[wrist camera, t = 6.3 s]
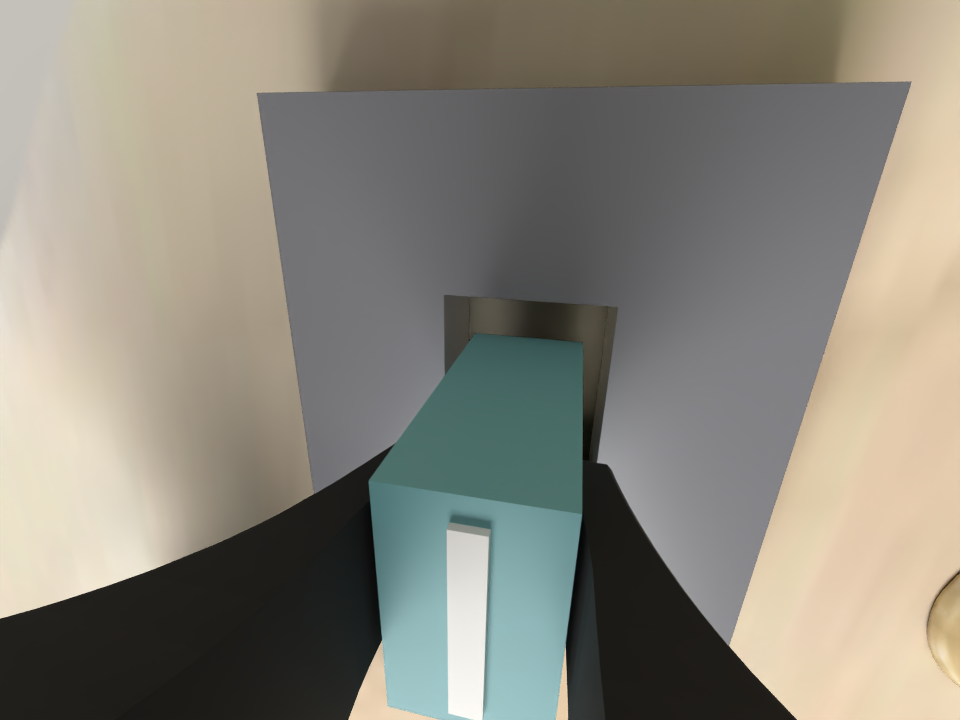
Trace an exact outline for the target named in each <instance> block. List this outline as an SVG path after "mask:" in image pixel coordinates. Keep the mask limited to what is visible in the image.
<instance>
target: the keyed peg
mask: <svg viewBox="0 0 960 720" xmlns="http://www.w3.org/2000/svg"><path fill="white" fill-rule="evenodd" d="M582 459H583V342H573V341H562V340H550V339H539V338H527V337H515V336H504V335H492V334H481V333H475V334H474V336H473V337H472V339H471V340H470V341H469V343H468V344H467V346H466V347H465V348H464V350H463V351H462V352H461V354H460V355H459V357H458V358H457V359H456V361H455V362H454V363H453V365H452V366H451V368H450V369H449V370H448V372H447V373H446V375H445V376H444V377H443V379H442V380H441V381H440V383H439V384H438V386H437V387H436V388H435V390H434V391H433V392H432V394H431V395H430V397H429V398H428V399H427V401H426V402H425V404H424V405H423V406H422V408H421V409H420V410H419V412H418V413H417V415H416V416H415V417H414V419H413V420H412V421H411V423H410V424H409V426H408V427H407V428H406V430H405V431H404V433H403V434H402V435H401V437H400V438H399V439H398V441H397V442H396V444H395V445H394V446H393V448H392V449H391V450H390V452H389V453H388V455H387V456H386V457H385V459H384V460H383V462H382V463H381V464H380V466H379V467H378V468H377V470H376V471H375V473H374V474H373V475H372V477H371V478H370V479H369V492H370V504H371V515H372V527H373V539H374V550H375V562H376V574H377V585H378V597H379V609H380V620H381V632H382V644H383V655H384V667H385V679H386V690H387V702H388V706H389V707H393V708H396V709H400V710H404V711H408V712H412V713H416V714H420V715H424V716H428V717H432V718H436V719H440V720H556V713H557V706H558V698H559V690H560V682H561V675H562V667H563V659H564V651H565V644H566V636H567V628H568V621H569V613H570V605H571V597H572V590H573V582H574V574H575V566H576V559H577V551H578V543H579V535H580V528H581V520H582Z"/></svg>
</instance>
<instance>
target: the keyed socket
mask: <svg viewBox="0 0 960 720" xmlns="http://www.w3.org/2000/svg"><path fill="white" fill-rule="evenodd" d="M910 85H911V82H860V83H802V84H745V85H687V86H629V87H572V88H514V89H457V90H399V91H342V92H284V93H257V97H258V104H259V111H260V118H261V125H262V132H263V139H264V146H265V153H266V160H267V167H268V174H269V181H270V188H271V195H272V202H273V209H274V216H275V223H276V230H277V237H278V244H279V251H280V258H281V265H282V272H283V279H284V286H285V293H286V300H287V307H288V314H289V321H290V328H291V335H292V342H293V349H294V356H295V363H296V370H297V377H298V384H299V391H300V398H301V405H302V412H303V419H304V426H305V433H306V440H307V447H308V454H309V461H310V468H311V475H312V482H313V489H314V494H315V493H317V492H319V491H320V490H322V489H324V488H326V487H327V486H329V485H331V484H332V483H334V482H336V481H337V480H339V479H340V478H342V477H344V476H345V475H347V474H348V473H350V472H351V471H353V470H355V469H356V468H358V467H359V466H361V465H363V464H364V463H366V462H367V461H369V460H370V459H372V458H373V457H375V456H376V455H378V454H379V453H381V452H383V451H384V450H386V449H387V448H389V447H390V446H392V445H393V444H395V443H396V442H397V441H398V439H399V438H400V437H401V435H402V434H403V433H404V431H405V430H406V428H407V427H408V426H409V424H410V423H411V421H412V420H413V419H414V417H415V416H416V415H417V413H418V412H419V410H420V409H421V408H422V406H423V405H424V404H425V402H426V401H427V399H428V398H429V397H430V395H431V394H432V392H433V391H434V390H435V388H436V387H437V386H438V384H439V383H440V381H441V380H442V379H443V377H444V376H445V375H446V373H447V372H448V370H449V369H450V368H451V366H452V365H453V363H454V362H455V361H456V359H457V358H458V357H459V355H460V354H461V352H462V351H463V350H464V348H465V347H466V346H467V344H468V343H469V297H483V298H497V299H512V300H526V301H540V302H554V303H568V304H582V305H596V306H608V314H607V322H606V330H605V337H604V345H603V353H602V361H601V368H600V376H599V384H598V392H597V399H596V407H595V415H594V423H593V431H592V438H591V446H590V454H589V461H587V460H582V461H587V462H594V463H601V464H607V465H608V466H609V467H610V469H611V470H612V472H613V474H614V476H615V479H616V481H617V483H618V485H619V487H620V489H621V491H622V493H623V495H624V497H625V498H626V500H627V502H628V504H629V506H630V508H631V509H632V511H633V513H634V515H635V516H636V518H637V520H638V522H639V523H640V525H641V526H642V528H643V530H644V531H645V533H646V534H647V536H648V538H649V539H650V541H651V542H652V544H653V546H654V547H655V549H656V550H657V552H658V553H659V555H660V556H661V558H662V559H663V561H664V562H665V564H666V565H667V567H668V568H669V569H670V571H671V572H672V574H673V575H674V577H675V578H676V579H677V581H678V582H679V584H680V585H681V586H682V588H683V589H684V590H685V592H686V593H687V594H688V596H689V597H690V598H691V600H692V601H693V602H694V604H695V605H696V606H697V608H698V609H699V610H700V611H701V613H702V614H703V615H704V617H705V618H706V619H707V620H708V621H709V623H710V624H711V625H712V626H713V628H714V629H715V630H716V631H717V632H718V634H719V635H720V636H721V637H722V639H723V640H724V641H725V642H726V643H727V645H728V646H729V644H730V641H731V638H732V635H733V632H734V629H735V626H736V623H737V620H738V617H739V613H740V610H741V607H742V604H743V601H744V598H745V595H746V592H747V589H748V586H749V583H750V579H751V576H752V573H753V570H754V567H755V564H756V561H757V558H758V555H759V552H760V549H761V545H762V542H763V539H764V536H765V533H766V530H767V527H768V524H769V521H770V518H771V515H772V512H773V508H774V505H775V502H776V499H777V496H778V493H779V490H780V487H781V484H782V481H783V478H784V474H785V471H786V468H787V465H788V462H789V459H790V456H791V453H792V450H793V447H794V444H795V440H796V437H797V434H798V431H799V428H800V425H801V422H802V419H803V416H804V413H805V410H806V406H807V403H808V400H809V397H810V394H811V391H812V388H813V385H814V382H815V379H816V376H817V372H818V369H819V366H820V363H821V360H822V357H823V354H824V351H825V348H826V345H827V342H828V338H829V335H830V332H831V329H832V326H833V323H834V320H835V317H836V314H837V311H838V308H839V304H840V301H841V298H842V295H843V292H844V289H845V286H846V283H847V280H848V277H849V274H850V270H851V267H852V264H853V261H854V258H855V255H856V252H857V249H858V246H859V243H860V240H861V237H862V233H863V230H864V227H865V224H866V221H867V218H868V215H869V212H870V209H871V206H872V203H873V199H874V196H875V193H876V190H877V187H878V184H879V181H880V178H881V175H882V172H883V169H884V165H885V162H886V159H887V156H888V153H889V150H890V147H891V144H892V141H893V138H894V135H895V131H896V128H897V125H898V122H899V119H900V116H901V113H902V110H903V107H904V104H905V101H906V97H907V94H908V91H909V88H910Z"/></svg>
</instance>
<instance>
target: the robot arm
mask: <svg viewBox="0 0 960 720" xmlns="http://www.w3.org/2000/svg"><path fill="white" fill-rule="evenodd" d="M395 444H396V443H395ZM395 444H393V445H392V446H390V447H389V448H387V449H386V450H384V451H383V452H381V453H379V454H378V455H376V456H375V457H373V458H372V459H370V460H369V461H367V462H366V463H364V464H363V465H361V466H359V467H358V468H356V469H355V470H353V471H351V472H350V473H348V474H347V475H345V476H344V477H342V478H340V479H339V480H337V481H336V482H334V483H332V484H331V485H329V486H327V487H326V488H324V489H322V490H320V491H319V492H317V493H315V494H313V495H312V496H310V497H308V498H306V499H305V500H303V501H301V502H299V503H298V504H296V505H294V506H292V507H291V508H289V509H287V510H285V511H283V512H282V513H280V514H278V515H276V516H274V517H272V518H270V519H268V520H266V521H264V522H262V523H260V524H258V525H256V526H254V527H252V528H250V529H248V530H246V531H243V532H241V533H239V534H237V535H235V536H233V537H231V538H229V539H226V540H224V541H222V542H220V543H217V544H215V545H213V546H210V547H208V548H205V549H203V550H200V551H198V552H195V553H193V554H190V555H188V556H185V557H183V558H181V559H178V560H176V561H173V562H171V563H168V564H166V565H163V566H161V567H158V568H156V569H153V570H151V571H148V572H145V573H143V574H140V575H137V576H134V577H131V578H129V579H126V580H123V581H120V582H117V583H114V584H112V585H109V586H106V587H103V588H100V589H97V590H94V591H91V592H88V593H85V594H81V595H78V596H75V597H72V598H69V599H66V600H63V601H60V602H57V603H53V604H50V605H47V606H44V607H40V608H37V609H34V610H30V611H26V612H23V613H19V614H16V615H12V616H9V617H5V618H1V619H0V720H348V719H349V716H350V713H351V711H352V708H353V705H354V703H355V700H356V697H357V695H358V692H359V689H360V687H361V685H362V682H363V680H364V678H365V675H366V673H367V671H368V669H369V666H370V664H371V662H372V660H373V658H374V656H375V653H376V651H377V649H378V647H379V645H380V643H381V641H382V632H381V620H380V609H379V597H378V585H377V574H376V562H375V550H374V539H373V527H372V515H371V504H370V492H369V479H370V478H371V477H372V475H373V474H374V473H375V471H376V470H377V468H378V467H379V466H380V464H381V463H382V462H383V460H384V459H385V457H386V456H387V455H388V453H389V452H390V450H391V449H392V448H393V446H394V445H395ZM566 664H567V690H568V720H797V719H796V718H795V717H794V716H793V715H792V714H791V713H790V712H789V711H788V710H787V709H786V708H785V707H784V706H783V705H782V704H781V703H780V702H779V701H778V699H777V698H776V697H775V696H774V695H773V694H772V693H771V692H770V691H769V690H768V689H767V688H766V687H765V686H764V685H763V684H762V683H761V682H760V681H759V679H758V678H757V677H756V676H755V675H754V674H753V673H752V672H751V671H750V670H749V669H748V668H747V666H746V665H745V664H744V663H743V662H742V661H741V659H740V658H739V657H738V656H737V655H736V654H735V653H734V651H733V650H732V649H731V648H730V647H729V646H728V645H727V643H726V642H725V641H724V640H723V639H722V637H721V636H720V635H719V634H718V632H717V631H716V630H715V629H714V628H713V626H712V625H711V624H710V623H709V621H708V620H707V619H706V618H705V617H704V615H703V614H702V613H701V611H700V610H699V609H698V608H697V606H696V605H695V604H694V602H693V601H692V600H691V598H690V597H689V596H688V594H687V593H686V592H685V590H684V589H683V588H682V586H681V585H680V584H679V582H678V581H677V579H676V578H675V577H674V575H673V574H672V572H671V571H670V569H669V568H668V567H667V565H666V564H665V562H664V561H663V559H662V558H661V556H660V555H659V553H658V552H657V550H656V549H655V547H654V546H653V544H652V542H651V541H650V539H649V538H648V536H647V534H646V533H645V531H644V530H643V528H642V526H641V525H640V523H639V522H638V520H637V518H636V516H635V515H634V513H633V511H632V509H631V508H630V506H629V504H628V502H627V500H626V498H625V497H624V495H623V493H622V491H621V489H620V487H619V485H618V483H617V481H616V479H615V476H614V474H613V472H612V470H611V469H610V467H609V466H608V465H607V464H601V463H594V462H587V461H582V520H581V528H580V535H579V543H578V551H577V559H576V566H575V574H574V582H573V590H572V597H571V605H570V613H569V621H568V628H567V636H566Z"/></svg>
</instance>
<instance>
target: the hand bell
mask: <svg viewBox="0 0 960 720" xmlns="http://www.w3.org/2000/svg"><path fill="white" fill-rule="evenodd" d="M927 636H928V644H929V647H930V650H931V653H932V655H933V657H934V659H935V661H936V663H937V664H938V666H939V667H940V668H941V670H942V671H943V672H944V673H945V674H946V675H947V676H948V677H949V678H950V679H951V680H952V681H953V682H954V683H956V684H957V685H958V686H960V574H959V575H957V576H956V577H955V578H954V579H953V580H952V581H951V582H950V583H949V585H948V586H947V587H946V588H945V589H944V590H943V591H942V592H941V593H940V595H939V596H938V598H937V599H936V601H935V603H934V605H933V607H932V610H931V613H930V618H929V621H928V630H927Z"/></svg>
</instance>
